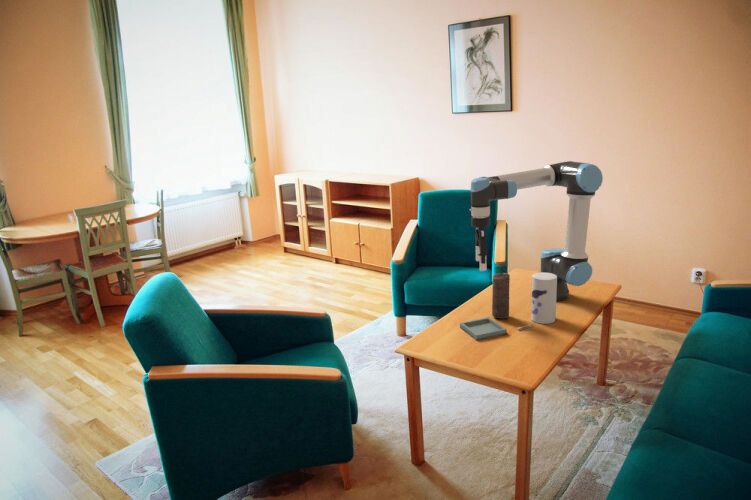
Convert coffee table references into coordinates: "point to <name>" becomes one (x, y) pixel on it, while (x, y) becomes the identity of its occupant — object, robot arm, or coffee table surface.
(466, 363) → the coffee table surface
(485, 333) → the dish
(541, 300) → the container
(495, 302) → the dark brown cylinder
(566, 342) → the coffee table surface
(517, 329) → the beige wooden bar
